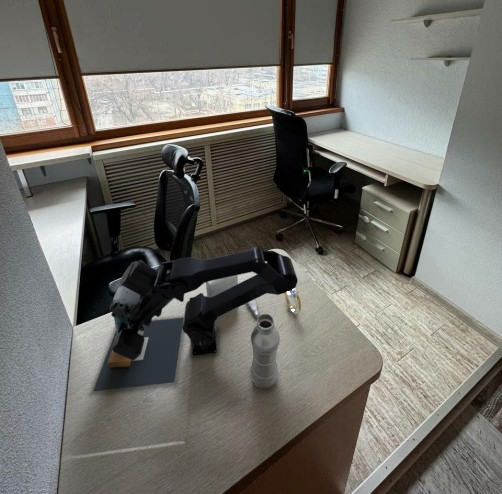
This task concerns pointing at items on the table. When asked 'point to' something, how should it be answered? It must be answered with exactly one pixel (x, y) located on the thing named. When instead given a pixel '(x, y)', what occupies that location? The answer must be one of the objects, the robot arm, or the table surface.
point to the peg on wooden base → (116, 359)
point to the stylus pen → (253, 306)
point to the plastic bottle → (264, 352)
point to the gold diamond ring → (293, 295)
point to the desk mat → (147, 358)
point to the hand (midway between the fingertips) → (118, 333)
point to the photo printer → (220, 285)
